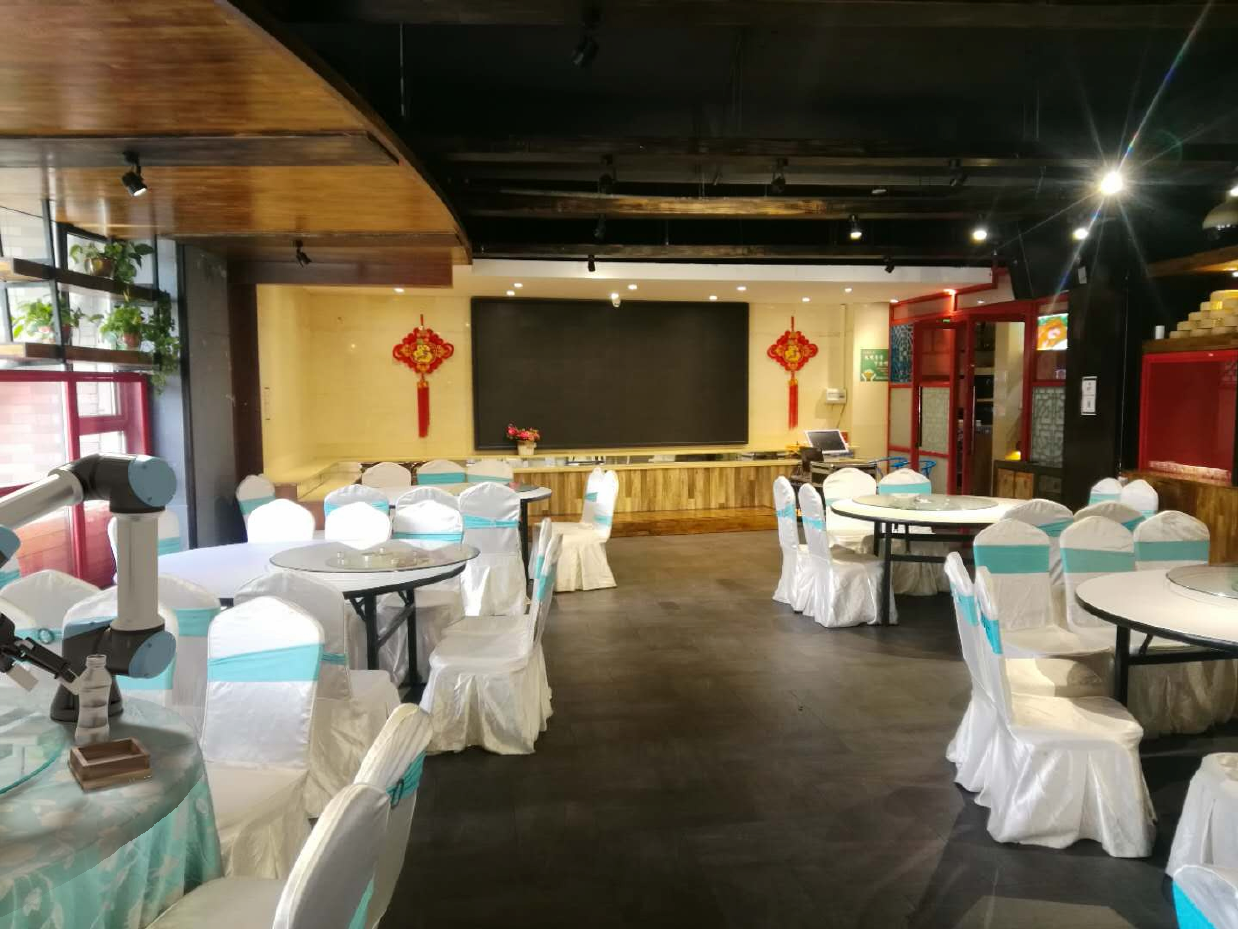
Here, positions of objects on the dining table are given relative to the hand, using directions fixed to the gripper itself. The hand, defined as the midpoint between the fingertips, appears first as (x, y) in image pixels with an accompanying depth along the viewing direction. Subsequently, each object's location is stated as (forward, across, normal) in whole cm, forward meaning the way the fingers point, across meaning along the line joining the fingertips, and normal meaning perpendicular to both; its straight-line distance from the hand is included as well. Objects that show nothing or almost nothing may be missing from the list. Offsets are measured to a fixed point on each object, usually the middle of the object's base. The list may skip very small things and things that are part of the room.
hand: (56, 687), depth 176 cm
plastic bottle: (+18, -2, -4) cm, 18 cm away
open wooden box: (+14, +12, -10) cm, 21 cm away
